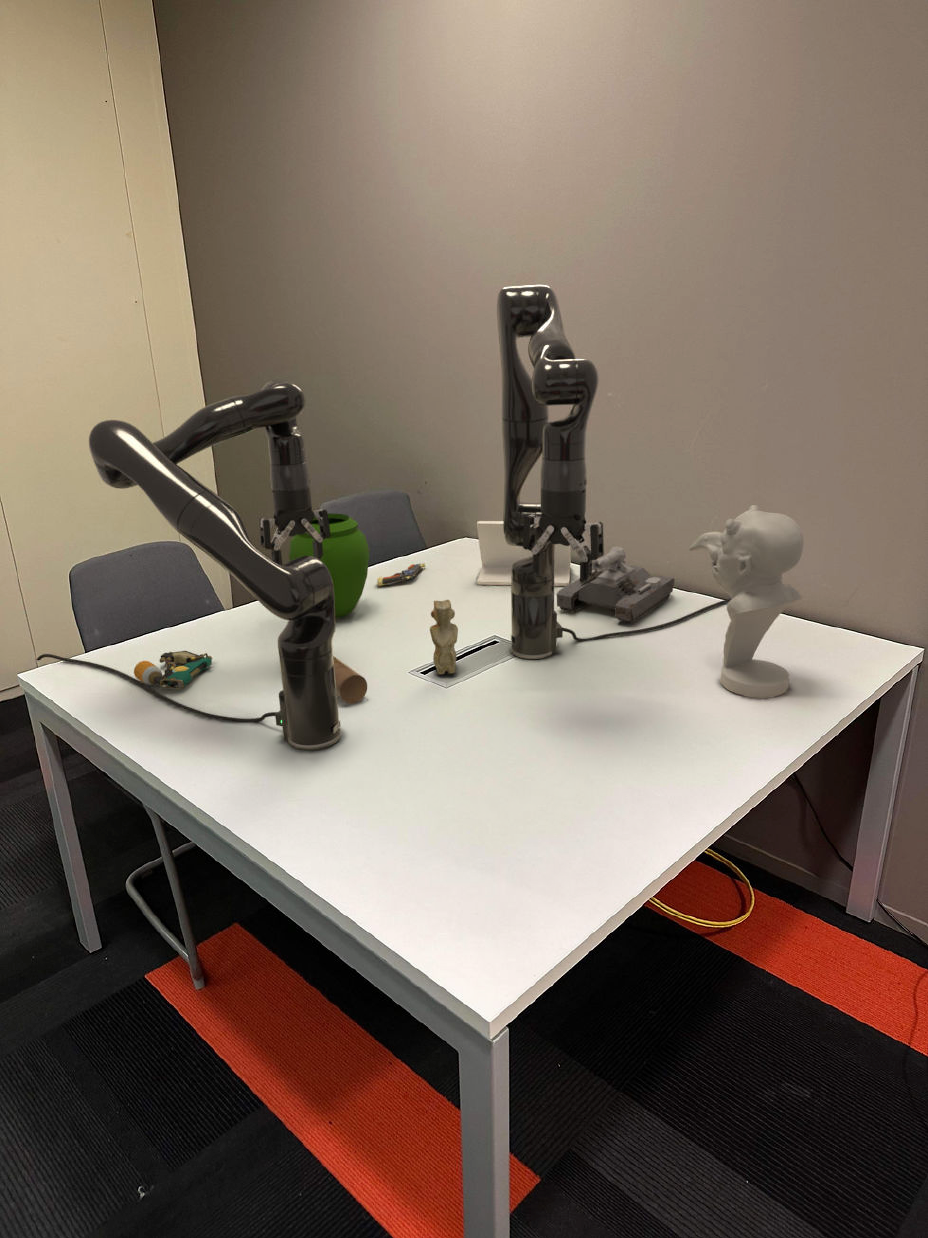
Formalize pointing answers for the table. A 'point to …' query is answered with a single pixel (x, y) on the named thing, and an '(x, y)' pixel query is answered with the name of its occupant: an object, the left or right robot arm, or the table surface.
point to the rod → (348, 683)
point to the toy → (617, 588)
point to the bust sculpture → (753, 593)
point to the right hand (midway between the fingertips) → (562, 577)
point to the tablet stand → (512, 556)
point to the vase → (339, 559)
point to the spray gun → (172, 669)
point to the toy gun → (401, 575)
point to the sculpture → (444, 637)
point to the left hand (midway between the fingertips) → (298, 563)
